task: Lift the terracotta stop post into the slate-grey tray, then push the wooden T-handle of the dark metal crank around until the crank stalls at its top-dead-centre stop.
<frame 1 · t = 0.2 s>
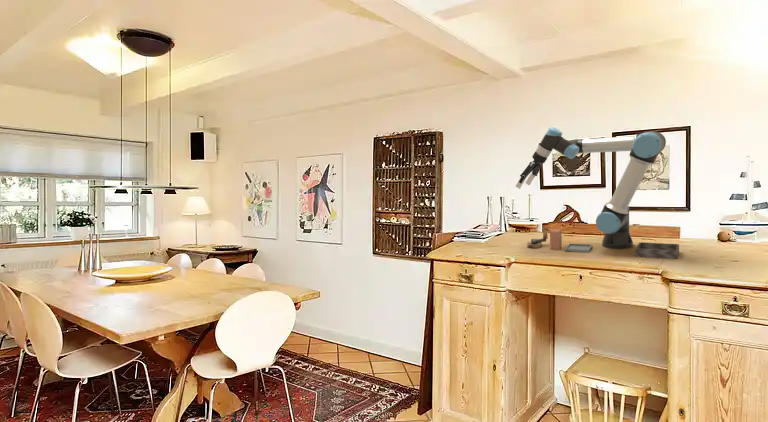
hand: (522, 185, 276), 35 cm above the table, fingers open, 13 cm apart
crank base: (534, 246, 275), on the table
crank: (539, 235, 275), point 6 cm above the table, hinge at 45.0°
tray: (578, 249, 262), on the table
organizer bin: (657, 254, 240), on the table
stop post: (556, 248, 268), on the table
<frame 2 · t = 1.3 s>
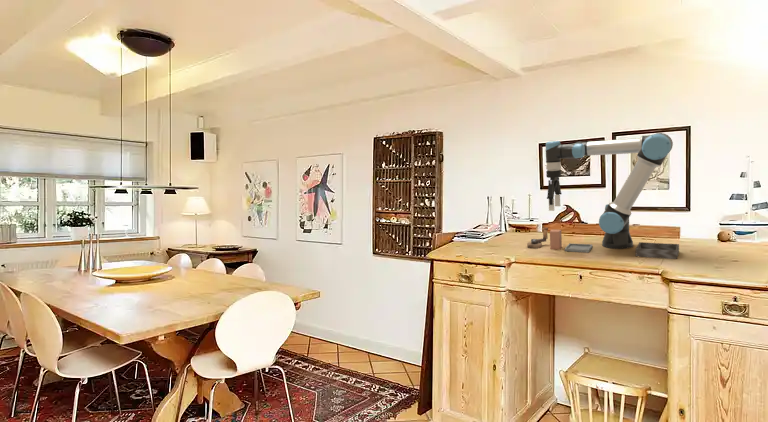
hand: (554, 208, 265), 22 cm above the table, fingers open, 13 cm apart
nothing on the table moved.
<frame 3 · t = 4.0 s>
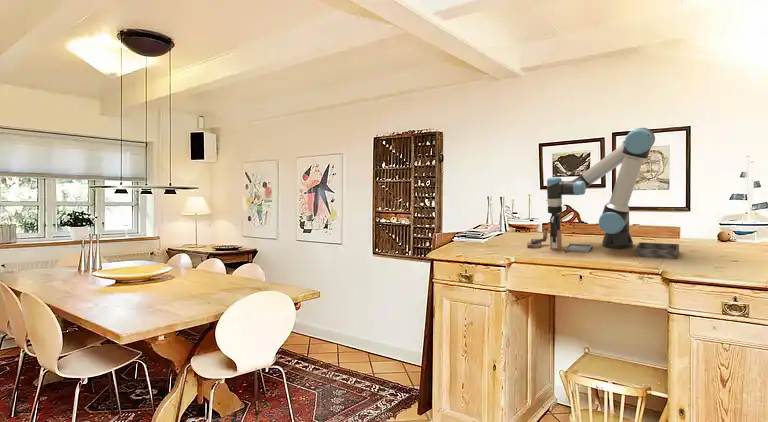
hand: (556, 246, 268), 1 cm above the table, fingers closed on stop post, 5 cm apart
stop post: (556, 248, 268), on the table, touching gripper
everything else where it was.
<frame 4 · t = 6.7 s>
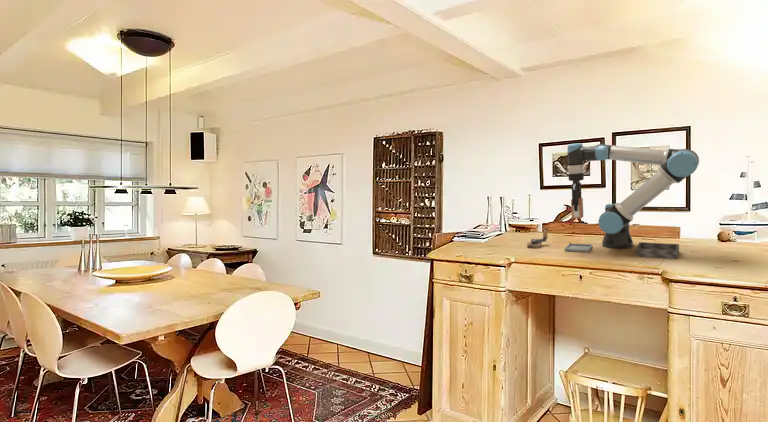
hand: (577, 215, 259), 19 cm above the table, fingers closed on stop post, 5 cm apart
stop post: (577, 217, 259), point 18 cm above the table, touching gripper
everything else where it was.
when the fingers open (3 cm above the table, at t = 9.4 s): stop post drops 1 cm, resting on tray.
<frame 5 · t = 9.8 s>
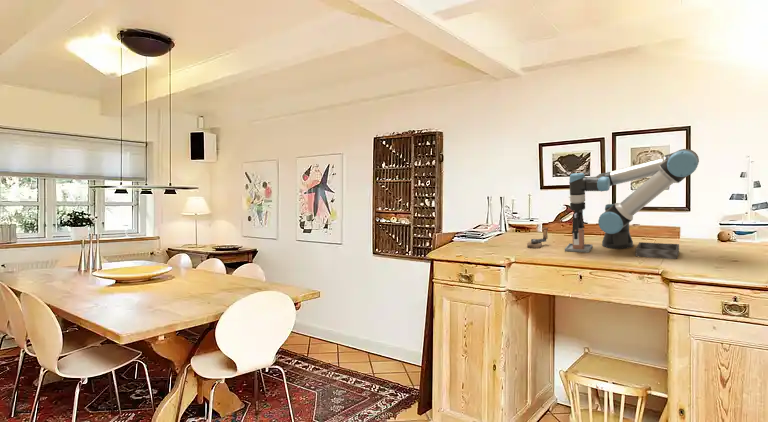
hand: (578, 242, 261), 4 cm above the table, fingers open, 10 cm apart
stop post: (578, 248, 261), resting on tray
everything else where it was.
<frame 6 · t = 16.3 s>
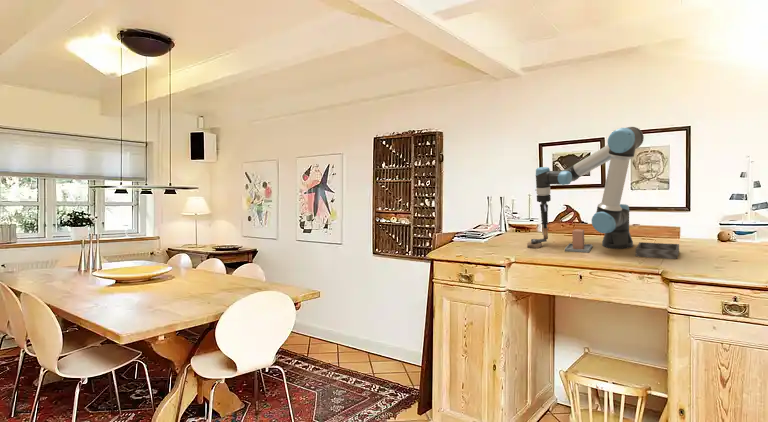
hand: (545, 234, 278), 5 cm above the table, fingers closed
crank: (539, 235, 274), point 6 cm above the table, hinge at 41.5°, touching gripper
everything else where it was.
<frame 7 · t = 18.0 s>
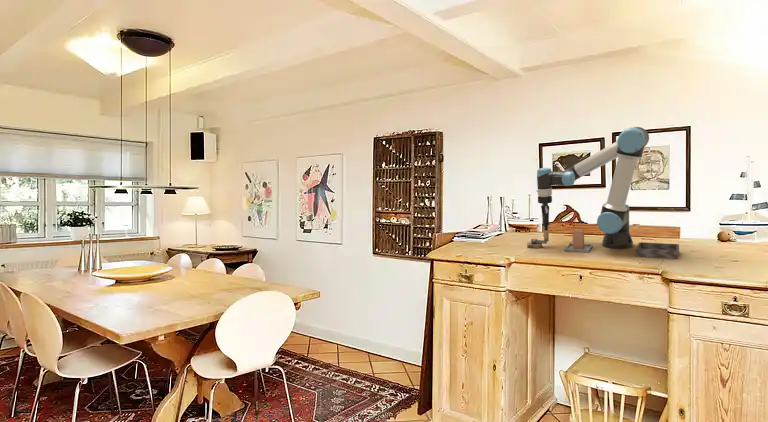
hand: (546, 236, 273), 6 cm above the table, fingers closed
crank: (540, 236, 272), point 6 cm above the table, hinge at -5.3°, touching gripper
everything else where it was.
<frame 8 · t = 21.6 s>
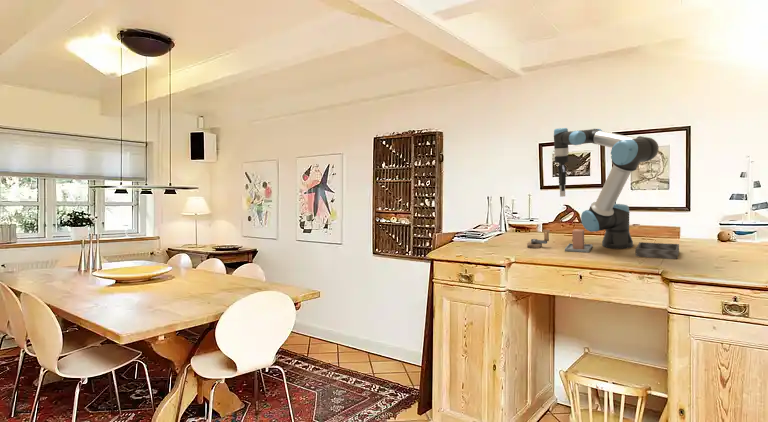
hand: (562, 196, 278), 26 cm above the table, fingers closed
crank: (540, 236, 272), point 6 cm above the table, hinge at -3.1°
everything else where it was.
at the end: stop post inside the target area on the tray (0.0 cm from its centre), point 0.5 cm above the tray's base; stop post tilted 0°; crank at -3° (first picture: +45°) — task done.
